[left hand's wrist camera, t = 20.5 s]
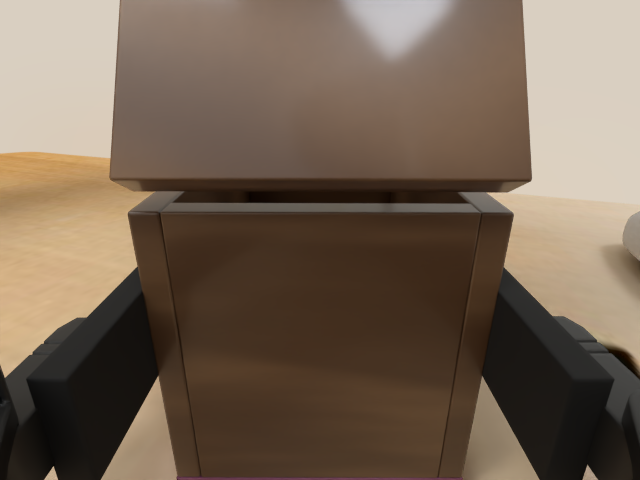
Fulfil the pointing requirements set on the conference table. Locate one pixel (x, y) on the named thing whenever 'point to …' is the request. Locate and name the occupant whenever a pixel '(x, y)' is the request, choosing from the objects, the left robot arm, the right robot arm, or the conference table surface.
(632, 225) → the projector
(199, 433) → the chest
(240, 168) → the lid
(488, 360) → the left robot arm
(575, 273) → the conference table surface
